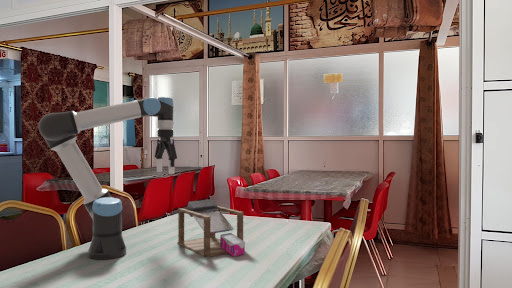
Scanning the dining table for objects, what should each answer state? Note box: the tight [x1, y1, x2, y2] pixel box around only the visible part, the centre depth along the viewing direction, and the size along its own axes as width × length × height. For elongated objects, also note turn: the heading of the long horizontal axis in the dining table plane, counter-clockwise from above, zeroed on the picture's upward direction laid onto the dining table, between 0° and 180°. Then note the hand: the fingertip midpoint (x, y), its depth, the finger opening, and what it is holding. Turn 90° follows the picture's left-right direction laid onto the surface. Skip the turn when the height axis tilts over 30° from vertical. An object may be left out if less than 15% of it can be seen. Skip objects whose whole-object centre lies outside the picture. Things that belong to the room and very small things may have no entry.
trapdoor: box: [186, 198, 235, 234], centre depth 180 cm, size 20×15×5 cm
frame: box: [176, 205, 246, 258], centre depth 180 cm, size 28×19×17 cm
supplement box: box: [219, 232, 246, 257], centre depth 171 cm, size 6×6×11 cm
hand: (165, 172), depth 192 cm, fingers open, 13 cm apart
